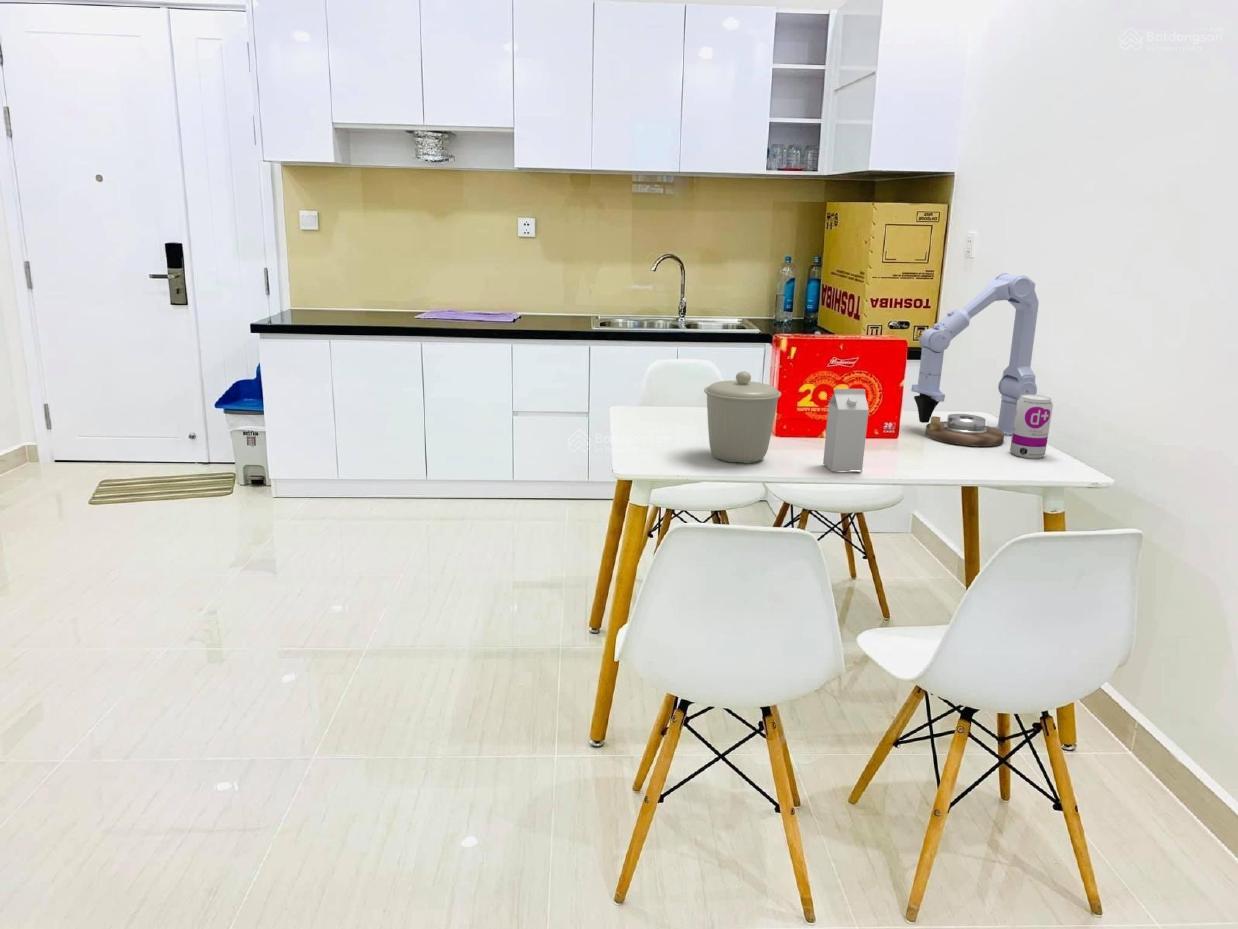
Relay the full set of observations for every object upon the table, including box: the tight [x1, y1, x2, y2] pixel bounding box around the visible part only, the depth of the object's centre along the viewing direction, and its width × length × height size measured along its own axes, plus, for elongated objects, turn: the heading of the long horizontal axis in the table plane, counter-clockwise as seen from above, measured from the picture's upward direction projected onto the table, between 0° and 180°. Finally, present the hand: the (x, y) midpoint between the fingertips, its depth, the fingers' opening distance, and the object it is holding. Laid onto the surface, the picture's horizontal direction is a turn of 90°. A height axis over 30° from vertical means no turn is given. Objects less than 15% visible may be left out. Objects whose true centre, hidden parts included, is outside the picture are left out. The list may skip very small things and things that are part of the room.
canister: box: [703, 371, 782, 463], centre depth 217 cm, size 18×18×21 cm
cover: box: [944, 413, 987, 435], centre depth 246 cm, size 11×11×4 cm
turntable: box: [925, 415, 1005, 447], centre depth 247 cm, size 20×20×6 cm
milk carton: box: [822, 388, 869, 472], centre depth 211 cm, size 7×7×19 cm
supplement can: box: [1009, 394, 1054, 460], centre depth 230 cm, size 8×8×15 cm
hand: (924, 422), depth 251 cm, fingers closed
